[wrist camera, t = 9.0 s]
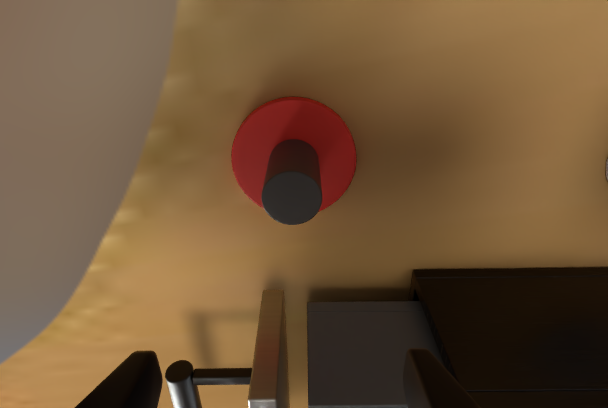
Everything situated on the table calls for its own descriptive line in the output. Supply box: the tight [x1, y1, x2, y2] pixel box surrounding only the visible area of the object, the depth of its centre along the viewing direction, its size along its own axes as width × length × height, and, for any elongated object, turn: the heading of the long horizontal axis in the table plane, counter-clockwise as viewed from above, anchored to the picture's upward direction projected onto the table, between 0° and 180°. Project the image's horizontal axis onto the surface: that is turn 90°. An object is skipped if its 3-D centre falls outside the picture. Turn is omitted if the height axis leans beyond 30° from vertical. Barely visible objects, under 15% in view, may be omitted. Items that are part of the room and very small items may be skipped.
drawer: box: [165, 290, 445, 408], centre depth 21 cm, size 17×11×7 cm, turn 91°
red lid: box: [231, 97, 356, 225], centre depth 17 cm, size 6×6×4 cm
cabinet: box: [409, 268, 608, 408], centre depth 21 cm, size 14×12×9 cm
